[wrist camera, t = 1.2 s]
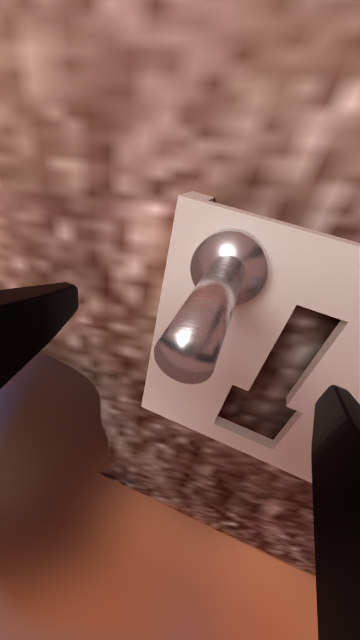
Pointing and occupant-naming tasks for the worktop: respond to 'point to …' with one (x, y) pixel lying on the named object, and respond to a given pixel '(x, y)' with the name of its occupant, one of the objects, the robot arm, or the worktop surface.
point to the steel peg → (211, 303)
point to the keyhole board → (261, 328)
